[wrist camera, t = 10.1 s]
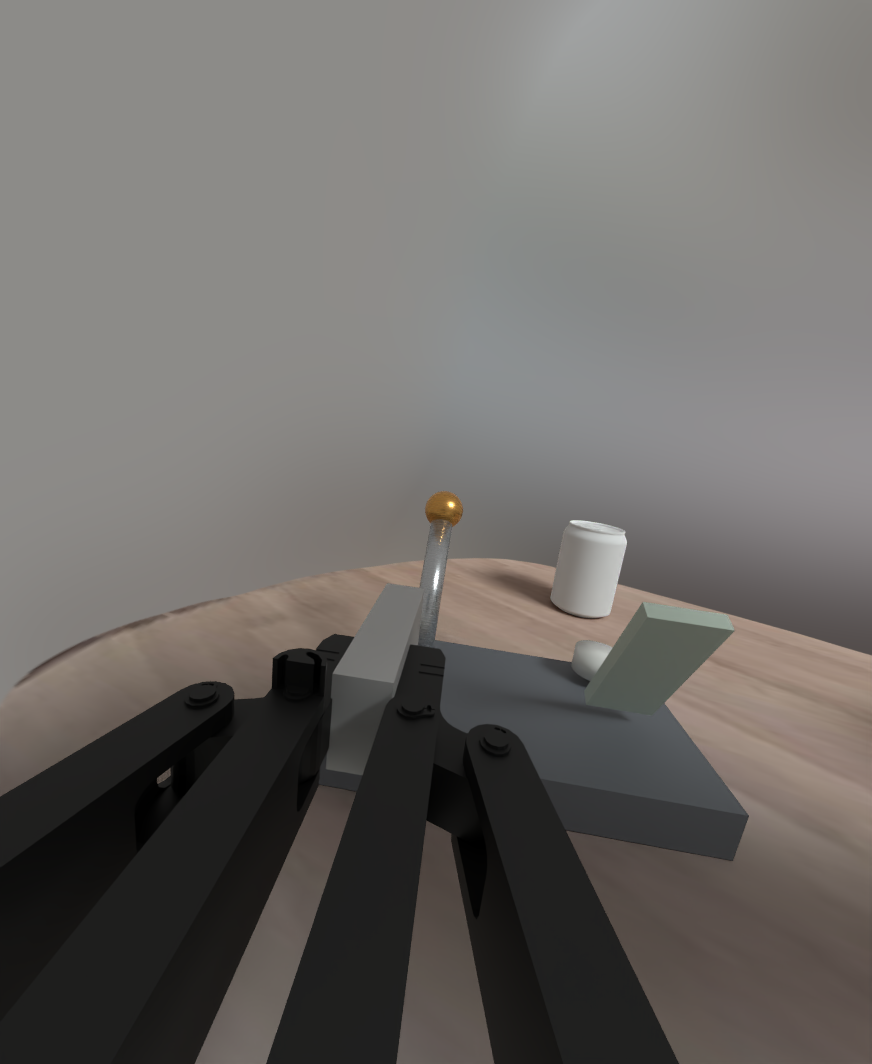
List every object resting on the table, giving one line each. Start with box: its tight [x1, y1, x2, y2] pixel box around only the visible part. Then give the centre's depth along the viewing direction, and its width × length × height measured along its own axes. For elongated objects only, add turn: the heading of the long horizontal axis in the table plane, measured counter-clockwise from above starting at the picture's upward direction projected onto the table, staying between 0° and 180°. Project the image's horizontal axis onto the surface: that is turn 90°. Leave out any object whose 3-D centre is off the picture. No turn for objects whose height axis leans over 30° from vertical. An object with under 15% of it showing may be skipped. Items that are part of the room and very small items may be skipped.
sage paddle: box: [584, 602, 735, 716], centre depth 25 cm, size 4×1×10 cm, turn 85°
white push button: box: [571, 640, 612, 681], centre depth 33 cm, size 4×4×2 cm
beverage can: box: [550, 520, 627, 618], centre depth 56 cm, size 8×8×12 cm
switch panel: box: [319, 640, 749, 861], centre depth 30 cm, size 24×14×3 cm, turn 85°
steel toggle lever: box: [418, 491, 463, 648], centre depth 33 cm, size 3×3×14 cm
